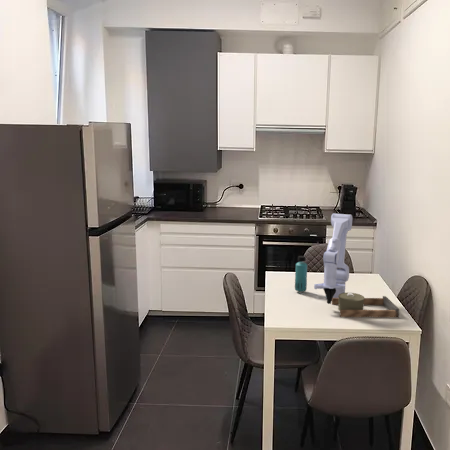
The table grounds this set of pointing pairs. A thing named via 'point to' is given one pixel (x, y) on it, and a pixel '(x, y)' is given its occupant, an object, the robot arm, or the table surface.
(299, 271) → the beverage bottle
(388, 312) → the bay
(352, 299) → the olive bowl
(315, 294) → the table surface
